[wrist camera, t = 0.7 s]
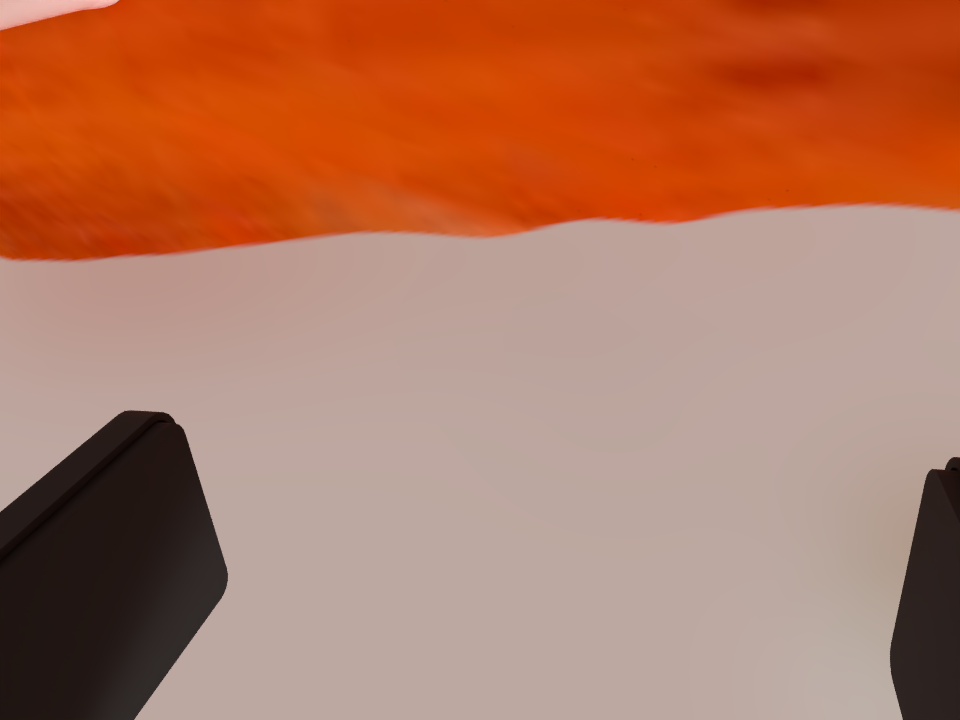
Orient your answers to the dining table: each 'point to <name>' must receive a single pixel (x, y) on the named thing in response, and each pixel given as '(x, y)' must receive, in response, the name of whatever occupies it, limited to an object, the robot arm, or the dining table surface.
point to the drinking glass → (42, 10)
